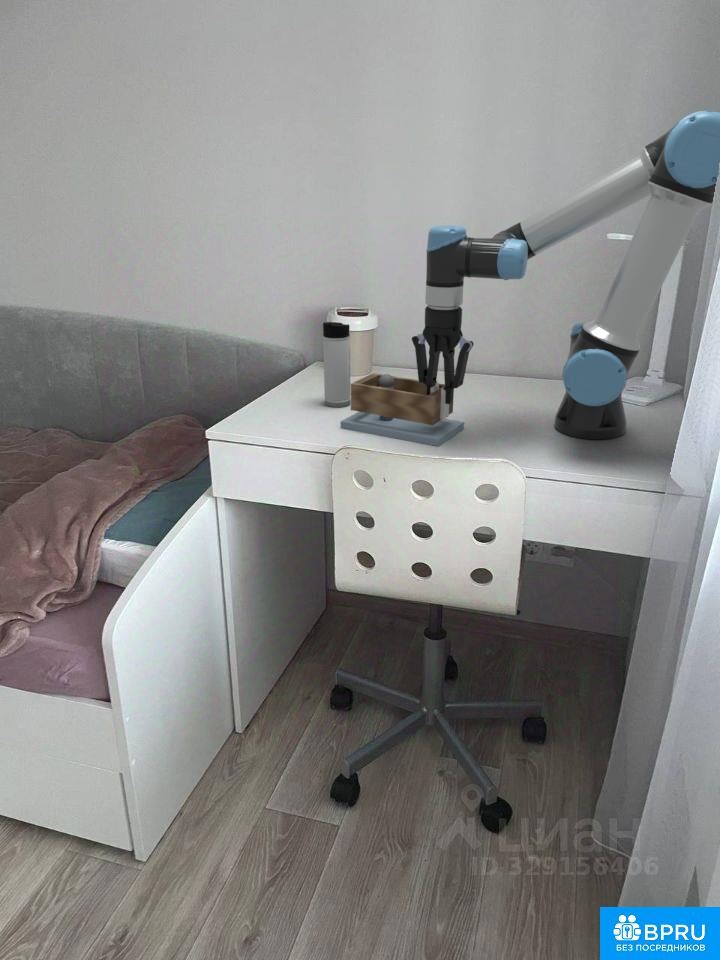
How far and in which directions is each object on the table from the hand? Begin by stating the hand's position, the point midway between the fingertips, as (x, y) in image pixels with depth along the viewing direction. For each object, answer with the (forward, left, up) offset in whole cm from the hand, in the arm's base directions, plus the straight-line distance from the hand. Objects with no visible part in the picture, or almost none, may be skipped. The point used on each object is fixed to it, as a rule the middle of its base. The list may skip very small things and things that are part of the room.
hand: (439, 416), depth 170 cm
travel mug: (+31, -8, -4) cm, 32 cm away
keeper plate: (+9, 0, -4) cm, 10 cm away
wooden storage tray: (+9, 0, 0) cm, 9 cm away
